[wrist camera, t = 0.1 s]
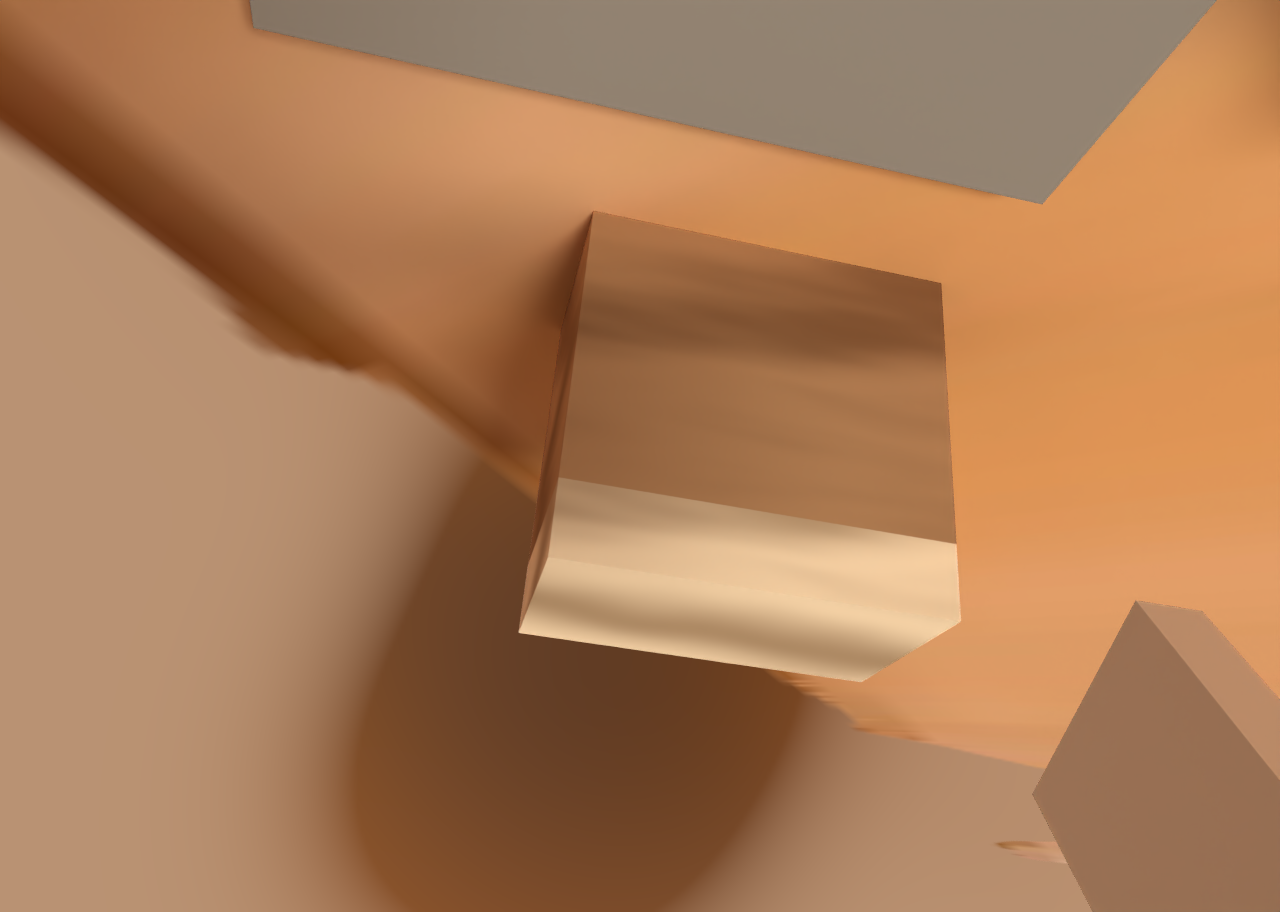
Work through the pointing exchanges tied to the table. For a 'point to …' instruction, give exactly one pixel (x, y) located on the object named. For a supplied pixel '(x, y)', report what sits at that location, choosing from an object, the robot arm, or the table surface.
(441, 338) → the table surface
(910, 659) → the table surface
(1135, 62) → the gray board
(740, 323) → the walnut box
